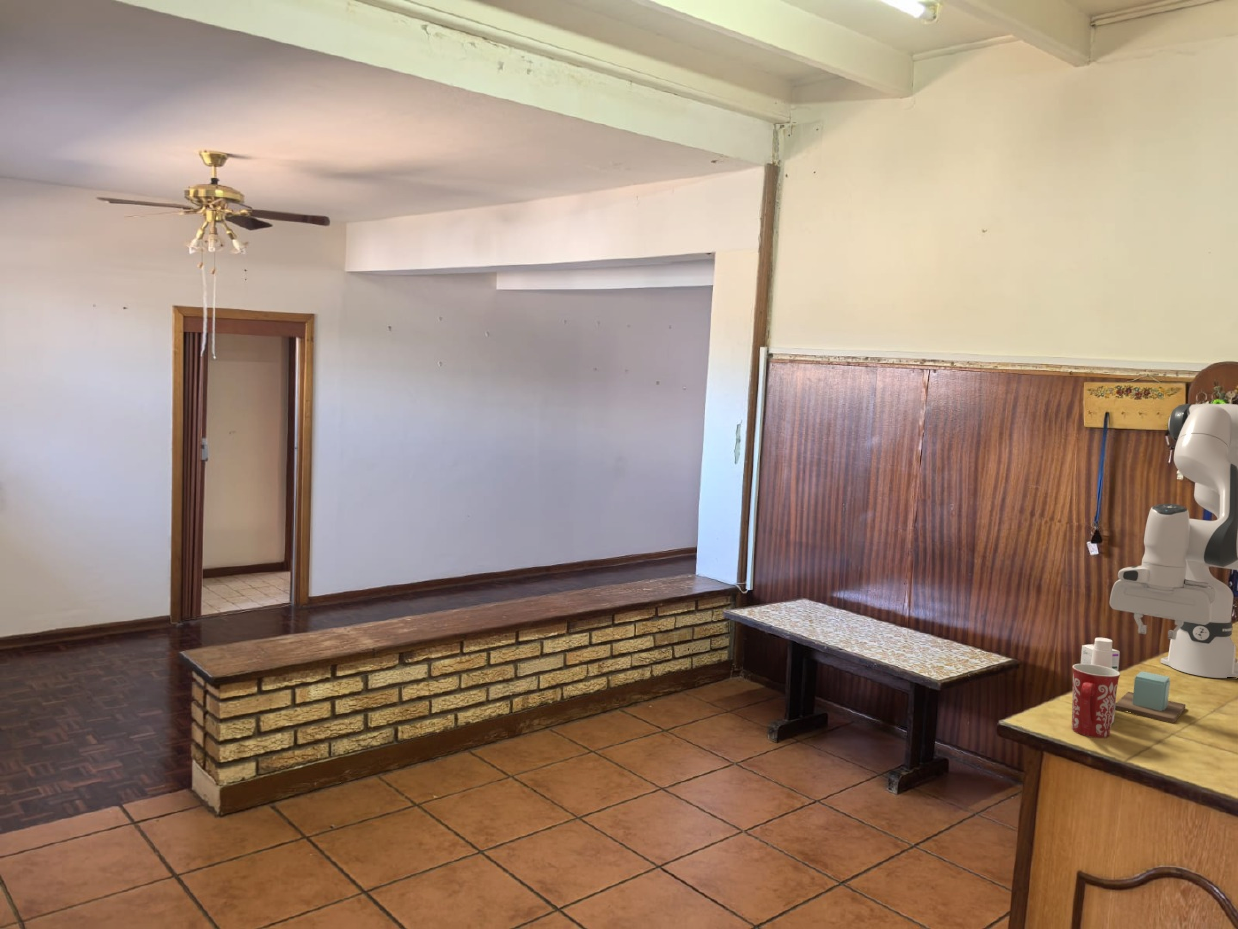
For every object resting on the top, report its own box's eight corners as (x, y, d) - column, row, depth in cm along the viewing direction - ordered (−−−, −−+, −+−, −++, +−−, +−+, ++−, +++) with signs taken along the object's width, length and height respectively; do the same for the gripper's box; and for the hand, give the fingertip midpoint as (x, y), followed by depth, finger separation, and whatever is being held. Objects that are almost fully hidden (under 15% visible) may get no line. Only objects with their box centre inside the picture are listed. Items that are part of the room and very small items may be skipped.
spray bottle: (1117, 727, 206) (1125, 645, 204) (1083, 723, 207) (1091, 642, 206) (1108, 716, 213) (1115, 637, 211) (1075, 712, 214) (1082, 634, 212)
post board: (1127, 695, 228) (1130, 667, 228) (1185, 708, 221) (1188, 679, 220) (1113, 709, 218) (1116, 680, 217) (1173, 723, 210) (1176, 693, 210)
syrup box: (1115, 714, 214) (1121, 650, 213) (1093, 715, 213) (1099, 651, 212) (1097, 705, 220) (1103, 643, 219) (1075, 706, 218) (1081, 644, 217)
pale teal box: (1137, 698, 224) (1140, 670, 223) (1168, 705, 220) (1171, 677, 219) (1131, 704, 219) (1134, 676, 218) (1162, 711, 215) (1165, 683, 214)
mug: (1073, 721, 209) (1079, 660, 207) (1119, 732, 203) (1125, 670, 201) (1055, 735, 199) (1061, 672, 198) (1102, 747, 193) (1108, 682, 192)
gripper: (1218, 582, 212) (1212, 643, 214) (1117, 567, 225) (1111, 624, 227) (1213, 586, 208) (1207, 648, 209) (1110, 570, 221) (1105, 629, 222)
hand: (1156, 636), depth 218 cm, fingers open, 5 cm apart
